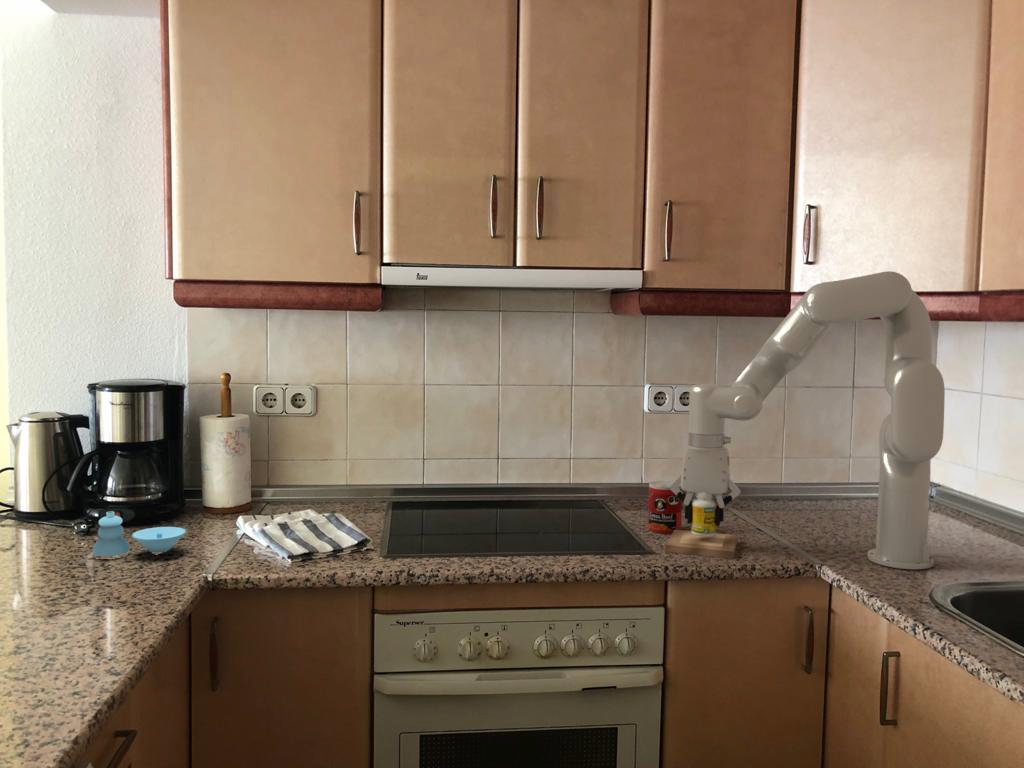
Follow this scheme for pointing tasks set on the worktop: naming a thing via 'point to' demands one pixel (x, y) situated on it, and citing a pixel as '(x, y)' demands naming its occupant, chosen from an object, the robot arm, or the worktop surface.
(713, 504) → the supplement bottle
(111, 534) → the light blue rounded pieces
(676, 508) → the canned food
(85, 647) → the worktop surface
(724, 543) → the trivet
